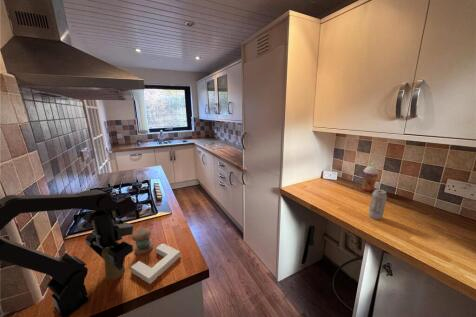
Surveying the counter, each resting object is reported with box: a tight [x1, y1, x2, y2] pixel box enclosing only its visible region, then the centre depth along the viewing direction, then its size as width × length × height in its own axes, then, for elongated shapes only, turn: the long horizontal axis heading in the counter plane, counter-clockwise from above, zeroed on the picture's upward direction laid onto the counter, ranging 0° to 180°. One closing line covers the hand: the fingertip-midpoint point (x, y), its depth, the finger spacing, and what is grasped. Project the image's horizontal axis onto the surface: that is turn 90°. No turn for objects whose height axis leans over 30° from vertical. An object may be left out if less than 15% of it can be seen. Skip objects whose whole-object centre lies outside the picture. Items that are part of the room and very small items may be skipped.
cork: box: [101, 247, 126, 282], centre depth 68 cm, size 6×6×11 cm
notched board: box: [130, 242, 181, 285], centre depth 73 cm, size 14×10×2 cm
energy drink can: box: [368, 188, 388, 221], centre depth 100 cm, size 6×6×15 cm
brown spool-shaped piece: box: [131, 227, 154, 256], centre depth 81 cm, size 7×7×8 cm
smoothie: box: [361, 161, 379, 193], centre depth 131 cm, size 8×8×20 cm
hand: (113, 264), depth 69 cm, fingers open, 9 cm apart
